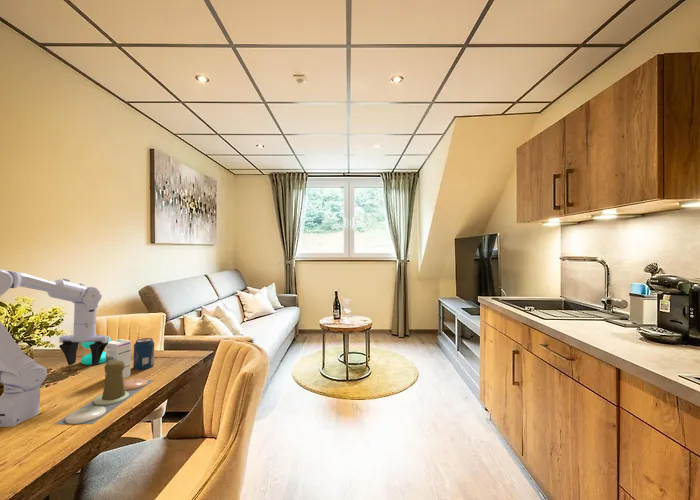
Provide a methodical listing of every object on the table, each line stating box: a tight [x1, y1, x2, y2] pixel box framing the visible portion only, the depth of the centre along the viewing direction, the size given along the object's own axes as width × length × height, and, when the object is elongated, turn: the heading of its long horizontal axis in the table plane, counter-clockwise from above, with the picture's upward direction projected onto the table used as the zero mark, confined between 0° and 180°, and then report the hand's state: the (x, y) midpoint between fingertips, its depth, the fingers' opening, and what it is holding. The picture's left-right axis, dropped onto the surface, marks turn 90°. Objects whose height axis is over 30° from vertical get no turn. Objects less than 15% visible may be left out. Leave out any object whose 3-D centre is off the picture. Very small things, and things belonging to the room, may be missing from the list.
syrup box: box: [104, 338, 132, 380], centre depth 118 cm, size 6×6×14 cm
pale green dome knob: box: [93, 391, 129, 406], centre depth 101 cm, size 9×9×1 cm
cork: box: [102, 361, 125, 400], centre depth 102 cm, size 6×6×11 cm
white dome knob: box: [64, 406, 106, 425], centre depth 91 cm, size 9×9×1 cm
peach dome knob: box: [124, 378, 149, 391], centre depth 112 cm, size 9×9×1 cm
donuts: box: [80, 337, 112, 366], centre depth 137 cm, size 10×10×10 cm
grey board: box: [54, 379, 155, 425], centre depth 101 cm, size 30×10×1 cm, turn 3°
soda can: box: [132, 337, 155, 371], centre depth 130 cm, size 7×7×12 cm
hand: (83, 364), depth 105 cm, fingers open, 7 cm apart
